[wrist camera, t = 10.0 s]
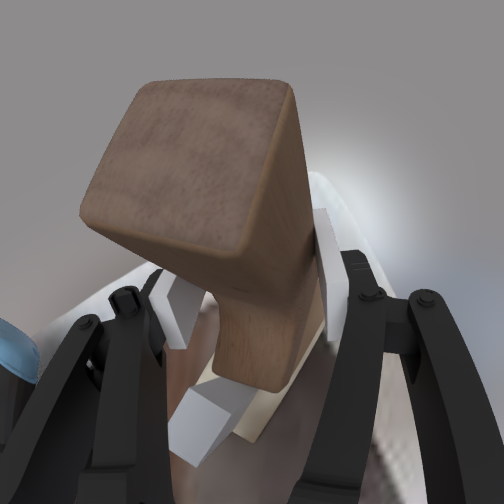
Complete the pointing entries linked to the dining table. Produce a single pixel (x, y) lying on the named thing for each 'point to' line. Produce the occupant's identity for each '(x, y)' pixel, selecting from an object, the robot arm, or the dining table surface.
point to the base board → (269, 402)
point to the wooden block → (219, 210)
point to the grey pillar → (207, 417)
